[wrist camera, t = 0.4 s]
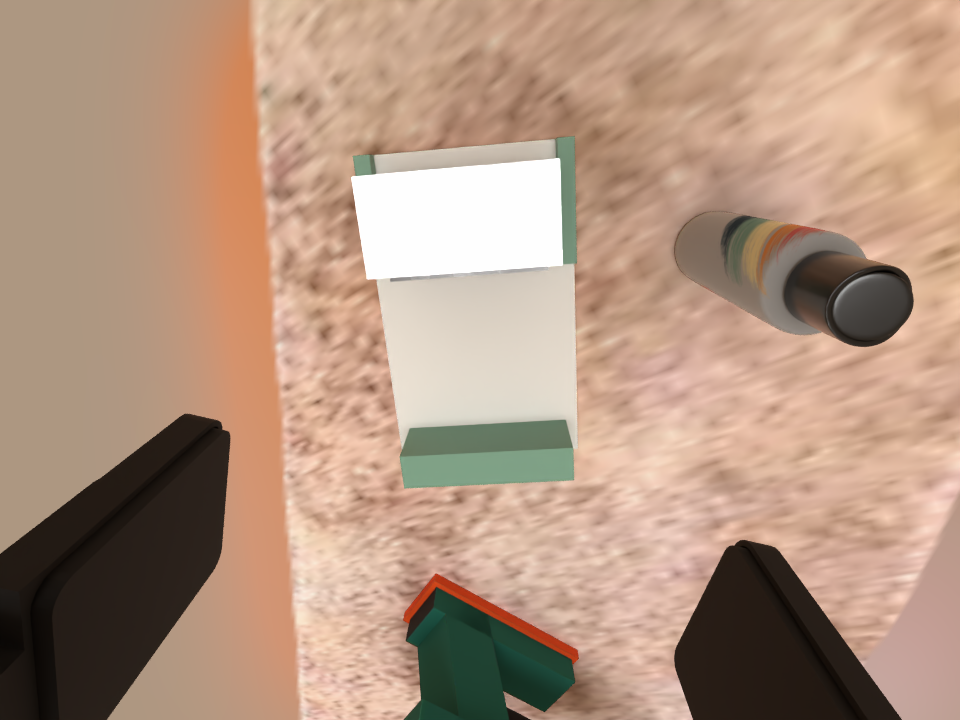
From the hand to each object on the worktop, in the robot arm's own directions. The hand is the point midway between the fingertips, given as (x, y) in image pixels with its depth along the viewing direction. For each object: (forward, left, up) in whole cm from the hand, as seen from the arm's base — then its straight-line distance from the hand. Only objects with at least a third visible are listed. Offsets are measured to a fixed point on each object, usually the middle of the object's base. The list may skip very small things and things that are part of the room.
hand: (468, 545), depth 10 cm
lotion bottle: (+1, +17, -36) cm, 40 cm away
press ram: (-3, -2, -34) cm, 34 cm away
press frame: (+5, -2, -35) cm, 36 cm away
